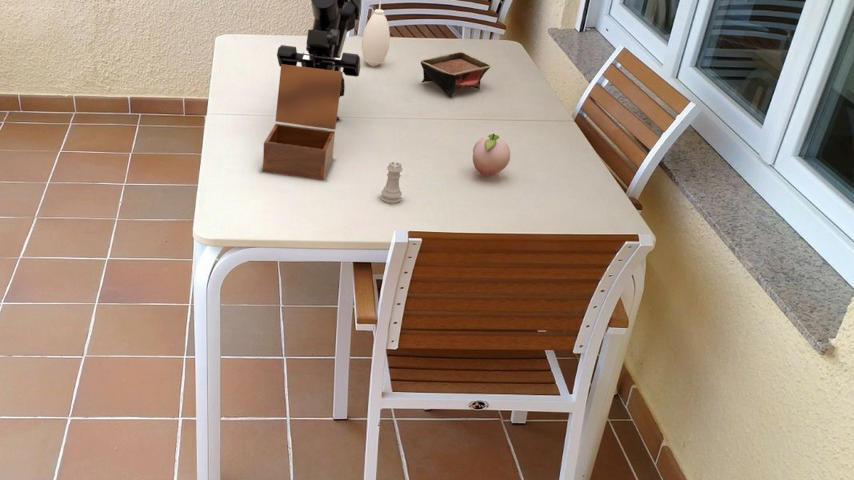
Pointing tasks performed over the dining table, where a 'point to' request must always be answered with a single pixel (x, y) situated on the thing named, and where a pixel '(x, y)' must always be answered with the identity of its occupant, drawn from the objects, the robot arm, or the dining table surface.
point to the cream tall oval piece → (376, 38)
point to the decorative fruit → (490, 155)
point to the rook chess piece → (392, 184)
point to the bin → (298, 151)
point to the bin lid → (308, 96)
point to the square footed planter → (454, 71)
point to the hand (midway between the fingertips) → (312, 95)
